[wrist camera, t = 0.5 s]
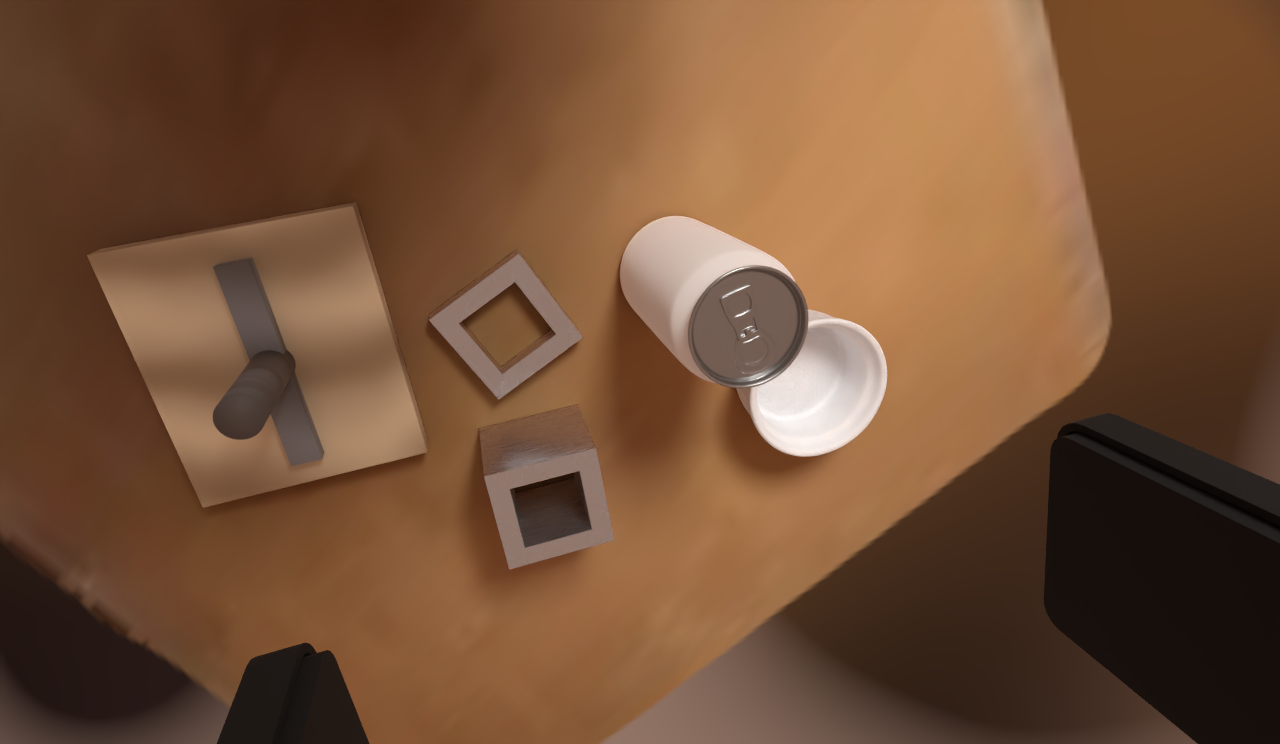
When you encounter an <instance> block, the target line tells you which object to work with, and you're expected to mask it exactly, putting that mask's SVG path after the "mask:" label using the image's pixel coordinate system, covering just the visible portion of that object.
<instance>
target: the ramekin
mask: <svg viewBox="0 0 1280 744" xmlns="http://www.w3.org/2000/svg"><path fill="white" fill-rule="evenodd" d="M886 382H887V366H886V361H885V357H884V353H883V351H882V349H881V346H880V345H879V343H878V342H877V340H876V339H875V338H874V337H873V336H872V335H871V334H870V333H869V332H868V331H867V330H866V329H864V328H863V327H861V326H860V325H858V324H856V323H853V322H851V321H848V320H844V319H839V318H834V317H831V316H829V315H827V314H824V313H822V312H818V311H814V310H808V330H807V335H806V338H805V341H804V344H803V346H802V348H801V350H800V352H799V354H798V356H797V357H796V359H795V360H794V361H793V362H792V364H791V365H790V366H789V367H788V368H787V369H786V370H785V371H784V372H783V373H781V374H780V375H779V376H777V377H776V378H774V379H773V380H771V381H769V382H767V383H765V384H762V385H759V386H756V387H751V388H742V389H739V388H736V390H737V393H738V395H739V398H740V400H741V402H742V404H743V406H744V407H745V409H746V410H747V411H748V413H749V414H750V416H751V418H752V421H753V423H754V425H755V427H756V429H757V431H758V432H759V433H760V435H761V436H762V437H763V439H764V440H765V441H766V442H767V443H769V444H770V445H771V446H772V447H774V448H775V449H777V450H779V451H781V452H783V453H786V454H789V455H792V456H798V457H811V456H819V455H822V454H826V453H829V452H831V451H834V450H836V449H838V448H840V447H842V446H844V445H845V444H847V443H848V442H850V441H851V440H853V439H854V438H855V437H856V436H858V435H859V434H860V433H861V432H862V431H863V430H864V429H865V428H866V426H867V425H868V424H869V423H870V421H871V420H872V418H873V417H874V415H875V414H876V412H877V410H878V408H879V406H880V404H881V402H882V399H883V396H884V393H885V389H886Z"/></svg>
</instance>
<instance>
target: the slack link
mask: <svg viewBox="0 0 1280 744" xmlns="http://www.w3.org/2000/svg"><path fill="white" fill-rule="evenodd" d="M514 282H515V283H516V284H517V285H518V286H519V288H520V289H521V290H522V291H523V293H524V294H525V295H526V297H527V298H528V299H529V300H530V302H531V303H532V304H533V305H534V307H535V308H536V309H537V311H538V312H539V313H540V314H541V316H542V317H543V318H544V320H545V321H546V322H547V323H548V325H549V326H550V327H551V328H552V330H550V331H549V332H548V333H546V334H545V335H544V336H542V337H541V338H539V339H538V340H537V341H535V342H534V343H533V344H531V345H530V346H529V347H527V348H526V349H525V350H523V351H522V352H520V353H519V354H518V355H516V356H515V357H514V358H512V359H511V360H510V361H508V362H507V363H506V364H504V365H503V366H502V367H500V366H499V365H498V363H497V362H496V361H495V360H494V359H493V358H492V356H491V355H490V354H489V353H488V352H487V350H486V349H485V348H484V347H483V346H482V345H481V343H480V342H479V341H478V340H477V339H476V338H475V336H474V335H473V334H472V333H471V332H470V331H469V329H468V328H467V327H466V326H465V325H464V323H463V322H462V321H463V320H464V319H465V318H467V317H468V316H470V315H471V314H472V313H474V312H475V311H476V310H478V309H479V308H480V307H482V306H483V305H484V304H486V303H487V302H488V301H490V300H491V299H493V298H494V297H495V296H497V295H498V294H499V293H501V292H502V291H503V290H505V289H506V288H507V287H509V286H510V285H512V284H513V283H514ZM429 321H430V322H431V323H432V324H433V325H434V326H435V328H436V329H437V330H438V331H439V332H440V333H441V334H442V336H443V337H444V338H445V339H446V340H447V341H448V342H449V344H450V345H451V346H452V347H453V348H454V349H455V350H456V352H457V353H458V354H459V355H460V356H461V357H462V358H463V360H464V361H465V362H466V363H467V364H468V365H469V366H470V368H471V369H472V370H473V371H474V372H475V373H476V374H477V376H478V377H479V378H480V379H481V380H482V381H483V382H484V384H485V385H486V386H487V387H488V388H489V389H490V390H491V392H492V393H493V394H494V395H495V396H496V397H497V398H498V400H499V399H500V398H502V397H503V396H504V395H506V394H507V393H508V392H510V391H511V390H512V389H514V388H515V387H517V386H518V385H519V384H521V383H522V382H523V381H525V380H526V379H527V378H529V377H530V376H531V375H533V374H534V373H536V372H537V371H538V370H540V369H541V368H542V367H544V366H545V365H546V364H548V363H549V362H550V361H552V360H553V359H555V358H556V357H557V356H559V355H560V354H561V353H563V352H564V351H565V350H567V349H568V348H569V347H571V346H572V345H573V344H575V343H576V342H578V341H579V340H580V339H582V338H583V337H582V335H581V333H580V331H579V330H578V329H577V327H576V326H575V325H574V323H573V322H572V321H571V320H570V318H569V317H568V316H567V314H566V313H565V312H564V310H563V309H562V308H561V306H560V305H559V304H558V303H557V301H556V300H555V299H554V297H553V296H552V295H551V293H550V292H549V291H548V290H547V288H546V287H545V286H544V284H543V283H542V282H541V280H540V279H539V278H538V276H537V275H536V274H535V273H534V271H533V270H532V269H531V267H530V266H529V265H528V263H527V262H526V261H525V259H524V258H523V257H522V256H521V254H520V253H519V252H518V250H515V251H514V252H513V253H511V254H510V255H509V256H507V257H506V258H505V259H503V260H502V261H501V262H499V263H498V264H497V265H495V266H494V267H492V268H491V269H490V270H488V271H487V272H486V273H484V274H483V275H482V276H480V277H479V278H478V279H476V280H475V281H473V282H472V283H471V284H469V285H468V286H467V287H465V288H464V289H463V290H461V291H460V292H459V293H457V294H456V295H455V296H453V297H452V298H450V299H449V300H448V301H446V302H445V303H444V304H442V305H441V306H440V307H438V308H437V309H436V310H434V311H433V312H432V313H430V314H429Z"/></svg>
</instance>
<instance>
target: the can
mask: <svg viewBox="0 0 1280 744" xmlns="http://www.w3.org/2000/svg"><path fill="white" fill-rule="evenodd" d="M620 282H621V287H622V291H623V293H624V296H625V298H626V300H627V301H628V303H629V305H630V306H631V307H632V309H633V310H634V311H635V312H636V313H637V315H638V316H639V317H640V318H641V319H642V320H643V321H644V322H645V324H646V325H647V326H648V327H649V328H650V329H651V330H652V332H653V333H654V334H655V335H656V336H657V337H658V338H659V339H660V340H661V342H662V343H663V344H664V345H665V346H666V347H667V348H668V349H669V350H670V352H671V353H672V354H673V355H674V356H675V357H676V358H677V359H678V360H679V361H680V362H681V363H682V364H683V365H684V366H685V367H686V368H687V369H688V370H689V371H691V372H692V373H693V374H695V375H696V376H698V377H700V378H702V379H704V380H706V381H709V382H712V383H717V384H720V385H722V386H726V387H730V388H739V389H742V388H751V387H756V386H759V385H762V384H765V383H767V382H769V381H771V380H773V379H774V378H776V377H777V376H779V375H780V374H781V373H783V372H784V371H785V370H786V369H787V368H788V367H789V366H790V365H791V364H792V362H793V361H794V360H795V359H796V357H797V356H798V354H799V352H800V350H801V348H802V346H803V344H804V341H805V338H806V335H807V330H808V308H807V304H806V300H805V298H804V295H803V293H802V291H801V290H800V288H799V287H798V285H797V284H796V283H795V280H794V279H793V277H792V275H791V274H790V272H789V271H788V270H787V269H786V268H785V267H784V266H783V265H782V264H781V263H780V262H779V261H778V260H776V259H775V258H773V257H772V256H770V255H768V254H767V253H765V252H763V251H761V250H759V249H757V248H755V247H753V246H751V245H749V244H747V243H745V242H743V241H741V240H739V239H736V238H734V237H732V236H730V235H728V234H726V233H724V232H722V231H720V230H718V229H715V228H713V227H711V226H709V225H707V224H705V223H702V222H700V221H698V220H695V219H692V218H689V217H684V216H669V217H664V218H660V219H657V220H655V221H653V222H651V223H649V224H647V225H646V226H644V227H643V228H642V229H641V230H639V231H638V232H637V233H636V234H635V236H634V237H633V238H632V239H631V241H630V242H629V244H628V245H627V247H626V249H625V252H624V254H623V257H622V261H621V266H620Z"/></svg>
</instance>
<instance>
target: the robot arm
mask: <svg viewBox="0 0 1280 744" xmlns="http://www.w3.org/2000/svg"><path fill="white" fill-rule="evenodd" d="M1048 500H1049V501H1048V521H1047V543H1046V565H1045V587H1044V606H1045V608H1046V611H1047V614H1048V616H1049V617H1050V620H1051V621H1052V622H1053V624H1054V625H1055V626H1056V627H1057V628H1058V629H1059V630H1060V631H1061V632H1062V633H1064V634H1065V635H1066V636H1067V637H1069V638H1070V639H1071V640H1072V641H1073V642H1075V643H1076V644H1077V645H1078V646H1080V647H1081V648H1082V649H1083V650H1084V651H1086V652H1087V653H1088V654H1089V655H1091V656H1092V657H1093V658H1094V659H1096V660H1097V661H1098V662H1099V663H1100V664H1102V665H1103V666H1104V667H1105V668H1106V669H1108V670H1109V671H1110V672H1111V673H1112V674H1114V675H1115V676H1116V677H1117V678H1119V679H1120V680H1121V681H1122V682H1123V683H1125V684H1126V685H1127V686H1128V687H1130V688H1131V689H1132V690H1133V691H1134V692H1136V693H1137V694H1138V695H1139V696H1141V697H1142V698H1143V699H1144V700H1145V701H1147V702H1148V703H1149V704H1150V705H1152V706H1153V707H1154V708H1155V709H1156V710H1158V711H1159V712H1160V713H1161V714H1162V715H1164V716H1165V717H1166V718H1167V719H1169V720H1170V721H1171V722H1172V723H1173V724H1175V725H1176V726H1177V727H1178V728H1180V729H1181V730H1182V731H1183V732H1184V733H1186V734H1187V735H1188V736H1189V737H1190V738H1192V739H1193V740H1194V741H1195V742H1196V743H1198V744H1280V485H1279V484H1277V483H1275V482H1272V481H1270V480H1268V479H1265V478H1263V477H1261V476H1258V475H1256V474H1254V473H1251V472H1248V471H1246V470H1244V469H1242V468H1239V467H1237V466H1235V465H1232V464H1230V463H1228V462H1225V461H1223V460H1220V459H1218V458H1216V457H1214V456H1211V455H1209V454H1207V453H1204V452H1202V451H1200V450H1197V449H1195V448H1193V447H1190V446H1188V445H1185V444H1183V443H1181V442H1178V441H1176V440H1174V439H1171V438H1169V437H1167V436H1164V435H1162V434H1160V433H1157V432H1155V431H1153V430H1150V429H1148V428H1146V427H1143V426H1141V425H1139V424H1136V423H1134V422H1131V421H1129V420H1127V419H1125V418H1122V417H1120V416H1117V415H1114V414H1110V413H1108V414H1100V415H1097V416H1093V417H1090V418H1086V419H1083V420H1079V421H1076V422H1073V423H1069V424H1067V425H1065V426H1063V427H1062V428H1061V430H1060V431H1059V433H1058V437H1057V439H1056V440H1055V441H1054V442H1053V444H1052V447H1051V455H1050V477H1049V499H1048ZM217 744H369V742H368V739H367V737H366V734H365V732H364V729H363V727H362V724H361V722H360V719H359V716H358V714H357V711H356V709H355V706H354V704H353V701H352V699H351V696H350V694H349V691H348V689H347V686H346V684H345V681H344V679H343V676H342V674H341V671H340V669H339V666H338V664H337V661H336V659H335V657H334V655H333V654H332V652H331V651H328V650H326V651H323V652H319V653H316V651H315V649H314V648H313V647H312V646H311V645H310V644H309V643H302V644H299V645H296V646H292V647H289V648H285V649H282V650H278V651H275V652H271V653H268V654H264V655H261V656H257V657H254V658H253V659H251V660H250V662H249V663H248V665H247V667H246V669H245V672H244V674H243V677H242V680H241V682H240V685H239V687H238V690H237V693H236V695H235V698H234V700H233V703H232V706H231V708H230V711H229V713H228V716H227V719H226V721H225V724H224V726H223V729H222V731H221V734H220V737H219V739H218V742H217Z"/></svg>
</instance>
